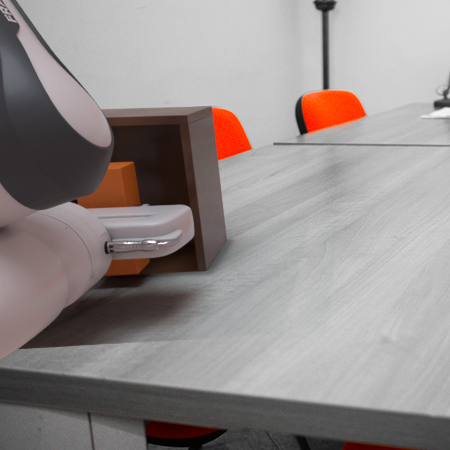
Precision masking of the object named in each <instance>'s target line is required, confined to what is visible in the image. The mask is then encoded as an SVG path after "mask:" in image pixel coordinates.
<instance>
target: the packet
mask: <svg viewBox="0 0 450 450" xmlns="http://www.w3.org/2000/svg"><path fill="white" fill-rule="evenodd" d="M77 201H78V205H80V206H82V207H84V208H86V209H92V208H115V207H133V206H135V205H138V204H140V197H139V191H138V185H137V178H136V172H135V166H134V162H113V163H110V164H109V166H108V169H107V172H106V174H105V176H104V178H103V180H102V182H101V184H100V186H99V187H98V189H97V190H96V191H95V192H94V193H92V194H90V195H87V196H85V197H82V198H79V199H77ZM149 262H150V261H149V258H142V259H122V260H111V263H110V266H109V268H108V270H107V272H106V273H105V275H104V276H103V277H110V276H109V275H121V276H129V275H128V274H138V273H139V272H140V271H141V270H142V269H143V268H144V267H145V266H146V265H147V264H148V263H149Z"/></svg>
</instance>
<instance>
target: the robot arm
mask: <svg viewBox="0 0 450 450" xmlns="http://www.w3.org/2000/svg"><path fill="white" fill-rule="evenodd" d="M101 109H102V108H100V106H99V104H98V103H97V101H95V99H94V98H93V96H92V95H91V94H90V92H88V90H87V89H86V88H85V87H84V86H83V84H81V82H80V81H79V80H78V78H77V77H76V76H75V75H74V74H73V73H72V72H71V71H70V70H69V69H68V67H67V66H66V65H65V64H64V63H63V61H62V60H61V59H60V58H59V57H58V56H57V54H55V52H54V51H53V49H52V48H51V47H50V45H49V44H48V43H47V41H46V40H45V39H44V37H43V36H42V34H41V33H40V32H39V30H38V29H37V28H36V26H35V24H34V23H33V22H32V20H31V19H30V17H29V16H28V15H27V13H26V12H25V10H24V9H23V8H22V6H21V4H19V2H18V1H17V0H0V360H2V359H4V358H5V357H7V356H10V354H12V353H14V352H16V351H17V350H19V349H20V348H22V347H23V346H24V345H25V344H27V343H29V341H31V340H32V339H33V338H35V337H36V336H37V335H39V334H40V333H41V332H43V330H45V329H46V328H47V327H48V326H49V325H51V324H52V323H53V322H54V321H55V320H56V319H57V318H58V316H59V315H60V314H61V312H62V311H63V310H64V309H65V308H67V307H68V306H71V305H72V304H74V303H75V302H76V301H78V300H79V299H80V298H81V297H82V296H83V295H84V294H86V293H87V292H88V291H89V290H90V289H91V288H93V286H94V285H97V283H98V282H99V281H100V280H101V279H102V278H103V277H105V276H104V275H105V273H106V272H107V270H108V268H109V266H110V263H111V260H122V259H142V258H155V257H161V256H166V255H169V254H171V253H173V252H175V251H177V250H178V249H180V248H181V247H182V246H184V245H185V244H186V243H188V242H189V241H190V240H191V239H192V238H193V237H194V222H193V215H192V211H191V209H190V207H188V206H186V205H161V206H150V205H149V204H138V205H135V206H133V207H115V208H92V209H86V208H84V207H82V206H80V205H77V204H75V203H71V202H70V201H73V200H76V199H79V198H82V197H85V196H87V195H90V194H92V193H94V192H95V191H96V190H97V189H98V187H99V186H100V184H101V182H102V180H103V178H104V176H105V174H106V172H107V169H108V166H109V164H110V160H111V157H112V152H113V147H114V136H113V132H112V129H111V127H110V124H109V122H108V120H107V119H106V117H105V115H104V114H103V112H102V110H101Z"/></svg>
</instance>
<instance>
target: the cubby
mask: <svg viewBox="0 0 450 450" xmlns="http://www.w3.org/2000/svg"><path fill="white" fill-rule="evenodd" d="M100 109H101V110H102V112H103V114H104V115H105V117H106V119H107V120H108V122H109V124H110V127H111V129H112V132H113V136H114V147H113V152H112V157H111V160H110V163H113V162H134V166H135V172H136V178H137V185H138V191H139V197H140V204H149V205H150V206H161V205H186V206H188V207H190V209H191V211H192V215H193V222H194V237H193V238H192V239H191V240H190V241H189V242H188V243H186V244H185V245H184V246H182V247H181V248H180V249H178V250H177V251H175V252H173V253H171V254H169V255H166V256H161V257H155V258H149V261H150V262H149V263H148V264H147V265H146V266H145V267H144V268H143V269H142V270H141V271H140V272H139V273H138V274H128V275H127V276H138V275H159V274H179V273H201V272H207V271H209V269H210V267H211V266H212V264H213V262H214V261H215V259H216V258H217V257H218V255H219V254H220V252H221V251H222V249H223V248H224V247H225V245H226V243H227V242H228V237H227V227H226V220H225V219H226V218H225V211H224V202H223V193H222V185H221V176H220V166H219V158H218V149H217V139H216V132H215V131H216V130H215V123H214V115H213V112H214V111H213V106H212V105H204V106H203V105H201V106H169V107H166V106H165V107H164V106H163V107H135V108H133V107H131V108H100ZM70 202H71V203H75V204H77V205H78V201H77V199H76V200H73V201H70ZM115 276H116V277H118V276H119V277H120V276H122V275H109V276H108V277H115Z"/></svg>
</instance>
